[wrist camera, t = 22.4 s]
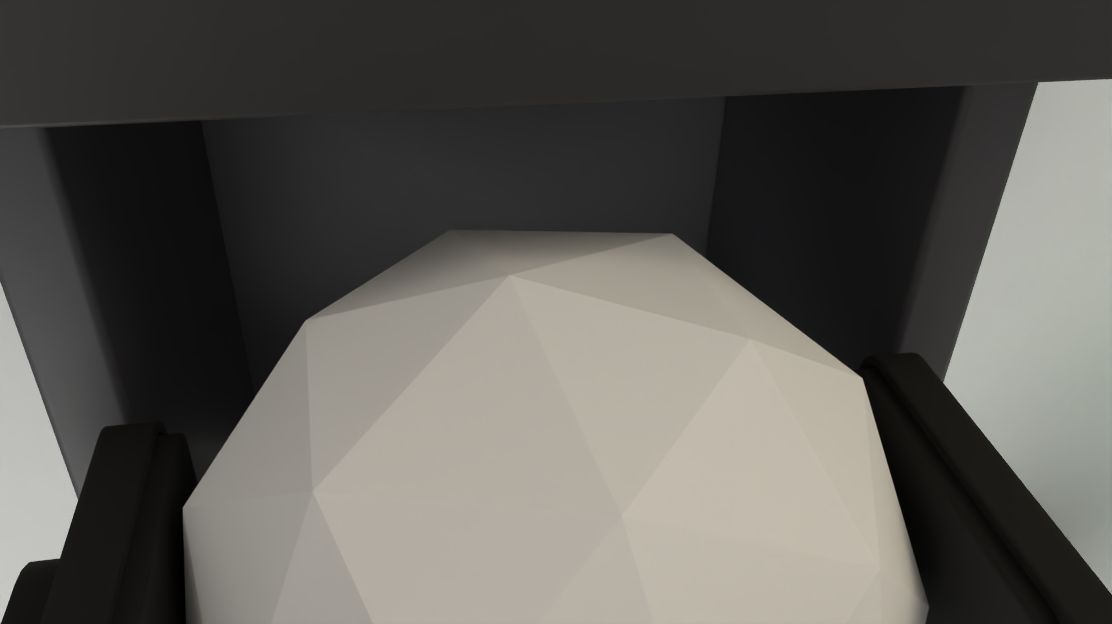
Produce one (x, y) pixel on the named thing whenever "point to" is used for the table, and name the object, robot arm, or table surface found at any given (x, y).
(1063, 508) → the table surface
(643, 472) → the ornament
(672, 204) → the dark grey drawer
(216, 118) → the drawer box
